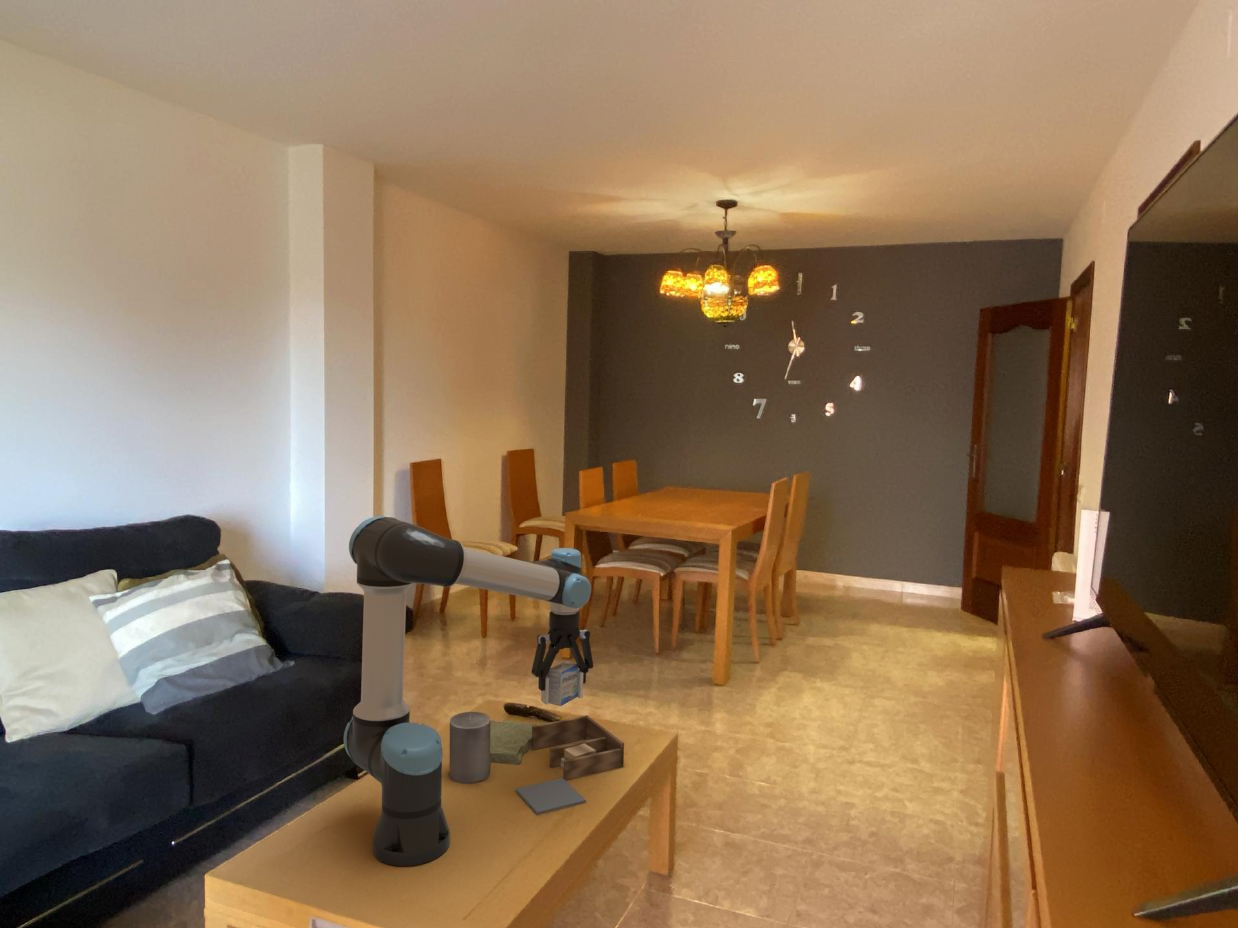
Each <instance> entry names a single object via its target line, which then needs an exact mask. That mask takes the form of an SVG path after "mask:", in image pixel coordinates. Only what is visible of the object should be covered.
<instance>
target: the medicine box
mask: <svg viewBox="0 0 1238 928" xmlns="http://www.w3.org/2000/svg"><path fill="white" fill-rule="evenodd" d="M578 670H579V668H578V664H577V663H575V662H570V661H563V662H561V663H559V664H557V665H555V666H553V667H552V666H551V668H550V670H549V672H548V674H547V677H548V678H549V702H548V704H550V705H555V706H557V707H558V706H559V707H562V706H564V705H566V704H567V703H569V702H571V701H573V700H575V699H576V698H578V697H577V696H578Z"/></svg>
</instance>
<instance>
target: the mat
mask: <svg viewBox="0 0 1238 928" xmlns="http://www.w3.org/2000/svg"><path fill="white" fill-rule="evenodd" d="M515 792H516V793H517V794H518V796H520V798H521V799H522V800H523V801H524V802H525V803H526V805H527V806H528V807H529V808H530V809H531V810H532V811H533V812H534V813H535V814H536V815H537V816H539V815H542V814H547V813H550V812H553V811H554V812H555V811H558V810H562V809H565V808H569V807H573V806H577V805H578V806H579V805H581V804H586V803H587V800H586V798H585V797H584V796H582V795H581V794H580V793H579V792H578V791H577V790H576V788H574V787H573V786H572V784H571V785H570V783H569V782H568V780H564V779H563V777H560V778H555V779H551V780H547V781H546V780H545V781H543V782H537V783H534V784H530V785H525V786H521V787H517V788H515Z"/></svg>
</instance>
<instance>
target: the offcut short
mask: <svg viewBox="0 0 1238 928" xmlns="http://www.w3.org/2000/svg"><path fill="white" fill-rule="evenodd" d="M591 754H596V750H594V749H593V748H591V747H590V746H588V745H586V744H585V743H584V744H580V745H577V746H573V747H570V748H567V749H564V759H565V760H569V759H573V758H578V757H582V756H587V755H591Z"/></svg>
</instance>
